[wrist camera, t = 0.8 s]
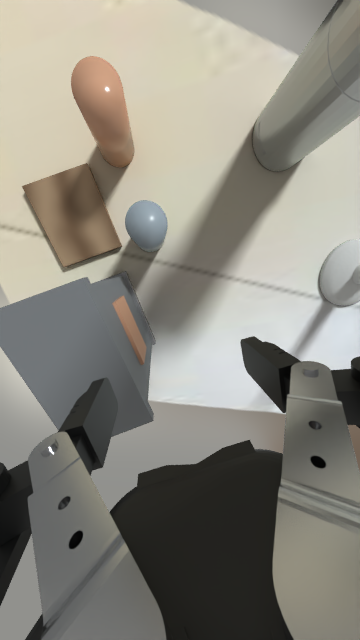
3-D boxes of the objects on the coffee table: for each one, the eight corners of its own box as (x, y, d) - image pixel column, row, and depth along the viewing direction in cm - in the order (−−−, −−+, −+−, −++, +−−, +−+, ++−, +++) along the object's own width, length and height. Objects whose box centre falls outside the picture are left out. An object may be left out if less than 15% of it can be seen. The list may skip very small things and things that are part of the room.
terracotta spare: (126, 122, 28) (110, 48, 19) (139, 161, 30) (130, 111, 20) (94, 133, 28) (61, 65, 19) (109, 172, 30) (85, 127, 20)
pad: (89, 166, 29) (86, 163, 28) (122, 246, 33) (120, 245, 32) (26, 189, 29) (21, 186, 28) (66, 266, 33) (63, 266, 32)
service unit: (126, 271, 34) (82, 278, 14) (155, 340, 38) (153, 421, 18) (83, 287, 34) (-21, 316, 14) (117, 355, 38) (73, 451, 18)
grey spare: (158, 215, 32) (158, 194, 22) (168, 246, 34) (173, 237, 24) (129, 226, 32) (118, 208, 22) (141, 256, 33) (135, 251, 24)
